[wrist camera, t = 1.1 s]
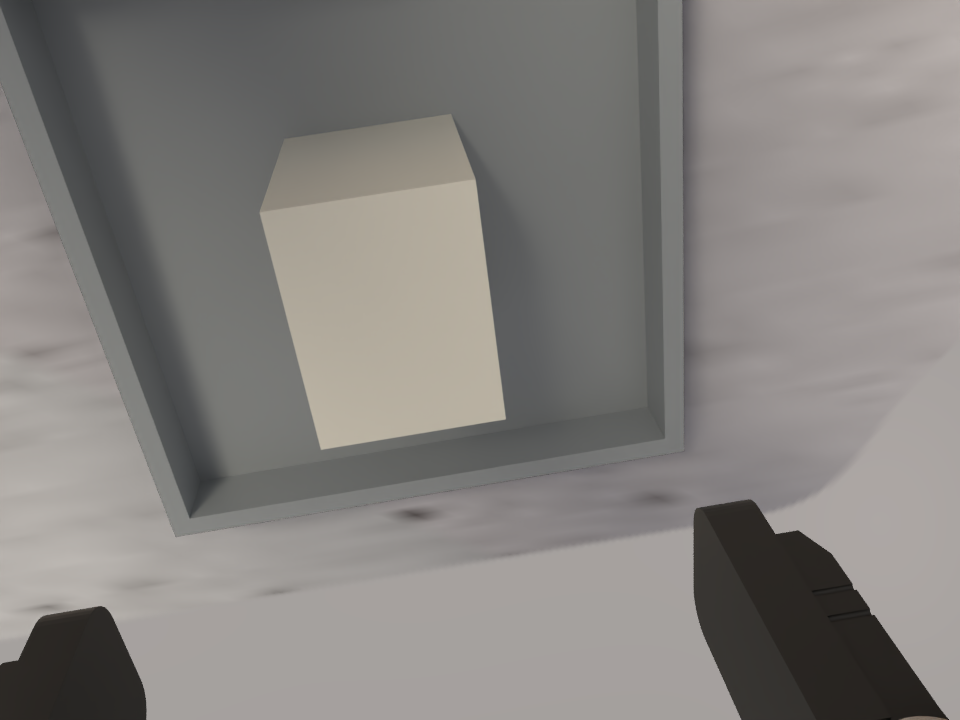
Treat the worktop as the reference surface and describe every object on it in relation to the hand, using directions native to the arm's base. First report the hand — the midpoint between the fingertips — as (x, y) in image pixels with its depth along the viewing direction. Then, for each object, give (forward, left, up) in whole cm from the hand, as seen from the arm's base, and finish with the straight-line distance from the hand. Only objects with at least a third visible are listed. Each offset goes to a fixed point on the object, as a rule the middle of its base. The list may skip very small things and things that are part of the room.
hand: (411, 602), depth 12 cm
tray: (0, 0, -15) cm, 15 cm away
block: (0, 0, -15) cm, 15 cm away
